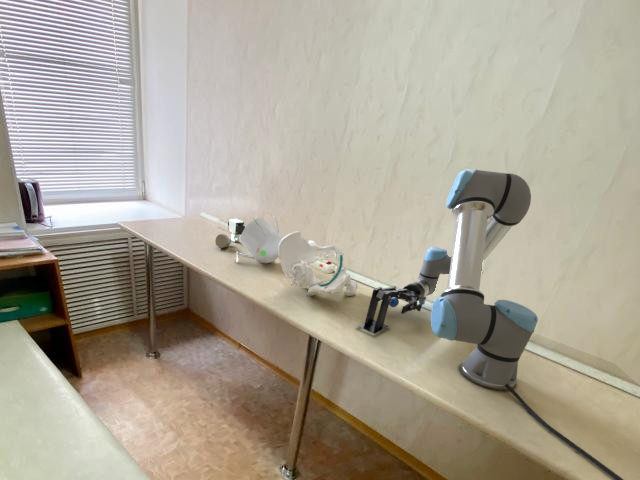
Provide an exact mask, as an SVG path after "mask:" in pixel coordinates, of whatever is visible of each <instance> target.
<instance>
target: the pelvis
mask: <svg viewBox="0 0 640 480" xmlns="http://www.w3.org/2000/svg"><path fill="white" fill-rule="evenodd" d="M301 233H302V232H301V230H297V231H293V232H290V233H288V234H287V235H285V236H283V237H282V238H283V239H282V240H281V241H280V243H279V249H278V253H279V257H278V259H279V260H280V265H281V270H282V272H283V274H284V275H285V277H287V278H290V279H291V278H292V280H291V282H290V284H289V285H290V286H292V285H293V286H294V285H296V286H298V285H299V287H301V288H303V289H306V290H307V296H309V297H313V296H314V295H317V294H319V293H323V294H329V295H330V294H331V293H336V294H338V293H340V292H342V291H343V289H344V288H345V291H343V294H344V295H345V296H347V297H353V296H355V295H356V293H357V290H358V288H359V287H358V282H357V281H356V280H352V277H351V274H349V273H347V268H346V267H344V252H343V251H342V250H340V249H338V247H336V246H335V245H333V244H329V245H328V246H321V245H318V244H317V242H316V240H309V239H308V238H304V237H303V236H302V234H301ZM318 252H325V253H327V254H326V255H323V256H317V254H318ZM332 257H335V258H336V271H335V273H334V274H333V275H332V277H331V278H330V279H329V280H328V281H324V280H322V279H320V278H318V277H317V276H316V275H315V273H314V270H313V268H312V267H311V266H310V264H313V263H316V262H318V261H322V260H324V259H326V258H332ZM302 262H304V263H302Z"/></svg>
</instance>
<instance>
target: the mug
mask: <svg viewBox="0 0 640 480" xmlns="http://www.w3.org/2000/svg"><path fill="white" fill-rule="evenodd" d="M231 239H232V238H230V237H229V236H228V235H227V234H225V233H220V234H217V236H216V237H215V242H214V243H215V244H216V247H218V248H221V249H224V248H225V249H226V248H227V247H228V246H230V245H231V244H232V240H231Z"/></svg>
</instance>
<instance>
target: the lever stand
mask: <svg viewBox="0 0 640 480" xmlns="http://www.w3.org/2000/svg"><path fill="white" fill-rule="evenodd" d="M382 288H383V287H382V286H379V287H376V288H374V289H372V294H371V297H370V301H369V306H368V308H367V313H366V316H365V320H364V323H362V324H359V325H358V326H357V327H358V328H361V329H362V330H365V331H368V332H369V333H372V334H374V335H376V334H378V333H379V332H381V331H383V330H385V329H386V328H389V325H387V324H384V323H385V320H386V317H387V313H388V309H389V307H390V305H389V302H390V299H391V295H392V292H393V291H388V292H386V293H384V295H383V299H382V300H381V302H380V301H379V298H377V297H376V296H377V294H378V291H379V290H380V291H381V290H382ZM379 302H380V306H379V310H378V313H377V317H376V319H375V316H376V312H377V309H378V305H379Z"/></svg>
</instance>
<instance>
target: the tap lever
mask: <svg viewBox="0 0 640 480" xmlns="http://www.w3.org/2000/svg"><path fill="white" fill-rule="evenodd" d="M384 293H385V292H383V291H380V290H379V291H378V294H377V296H376V297H377V298H379V299H383V295H384ZM399 300H400V299H397V298H396V297H392V298H391V299H390V302H389V307H391V308H396V307H397V306H398V305H399V304H400V301H399Z"/></svg>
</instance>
